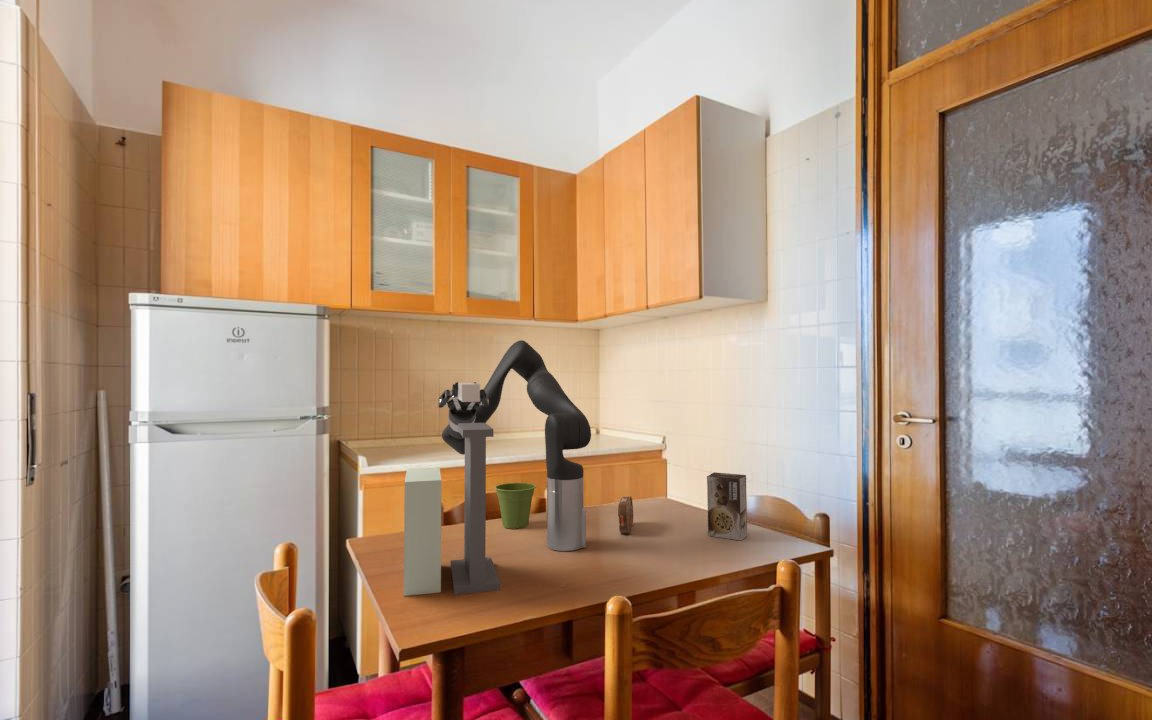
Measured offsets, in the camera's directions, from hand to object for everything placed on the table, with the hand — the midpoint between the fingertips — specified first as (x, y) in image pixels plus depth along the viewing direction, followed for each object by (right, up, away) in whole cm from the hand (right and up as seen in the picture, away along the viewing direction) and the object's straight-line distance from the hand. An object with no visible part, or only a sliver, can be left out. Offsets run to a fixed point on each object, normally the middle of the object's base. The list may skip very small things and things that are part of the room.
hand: (466, 385), depth 141 cm
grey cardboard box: (+69, -41, +6) cm, 80 cm away
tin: (+42, -41, +12) cm, 60 cm away
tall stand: (+7, -40, -25) cm, 47 cm away
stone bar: (+1, -3, -4) cm, 5 cm away
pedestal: (-4, -40, -26) cm, 47 cm away
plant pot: (+11, -41, +16) cm, 45 cm away
